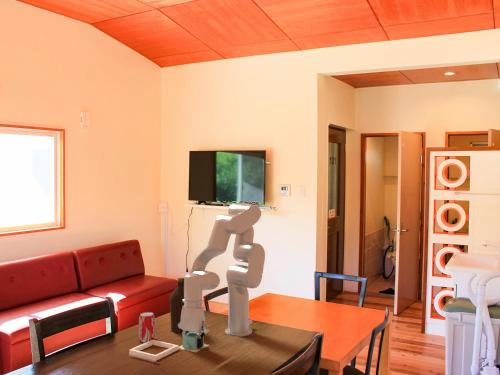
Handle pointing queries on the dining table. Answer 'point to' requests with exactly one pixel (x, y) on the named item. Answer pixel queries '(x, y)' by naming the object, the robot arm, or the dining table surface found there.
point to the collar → (190, 341)
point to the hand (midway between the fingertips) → (193, 345)
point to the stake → (196, 349)
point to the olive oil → (177, 305)
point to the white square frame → (151, 357)
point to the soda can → (146, 327)
